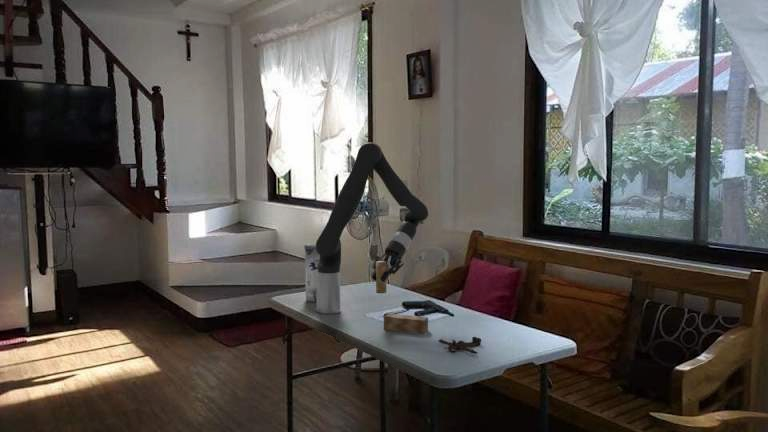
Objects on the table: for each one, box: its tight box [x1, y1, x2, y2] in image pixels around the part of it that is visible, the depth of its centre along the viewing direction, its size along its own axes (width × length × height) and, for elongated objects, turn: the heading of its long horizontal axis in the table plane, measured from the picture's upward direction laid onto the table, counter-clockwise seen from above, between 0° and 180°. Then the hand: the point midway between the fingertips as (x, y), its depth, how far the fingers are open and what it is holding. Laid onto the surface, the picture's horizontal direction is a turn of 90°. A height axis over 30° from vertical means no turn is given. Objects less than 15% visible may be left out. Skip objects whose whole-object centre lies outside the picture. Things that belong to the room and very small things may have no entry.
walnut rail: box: [383, 312, 429, 335], centre depth 232 cm, size 16×5×5 cm, turn 67°
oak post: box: [375, 261, 387, 295], centre depth 239 cm, size 4×4×12 cm
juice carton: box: [304, 243, 320, 303], centre depth 281 cm, size 9×10×27 cm
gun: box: [401, 299, 455, 317], centre depth 261 cm, size 24×3×15 cm
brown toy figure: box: [438, 336, 482, 355], centre depth 210 cm, size 18×4×14 cm
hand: (377, 279), depth 238 cm, fingers closed on oak post, 4 cm apart
